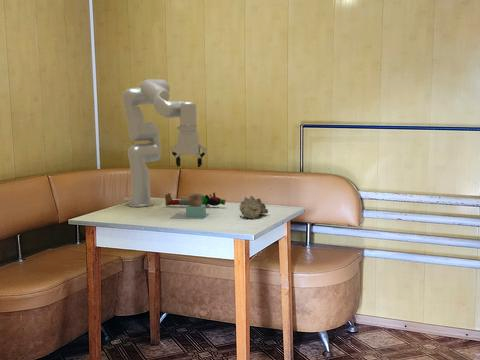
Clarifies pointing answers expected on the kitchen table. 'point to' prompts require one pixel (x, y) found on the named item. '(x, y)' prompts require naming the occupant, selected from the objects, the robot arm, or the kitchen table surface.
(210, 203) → the toy
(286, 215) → the kitchen table surface
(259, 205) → the seashell
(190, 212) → the teal brick
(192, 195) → the walnut block
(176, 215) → the build board
